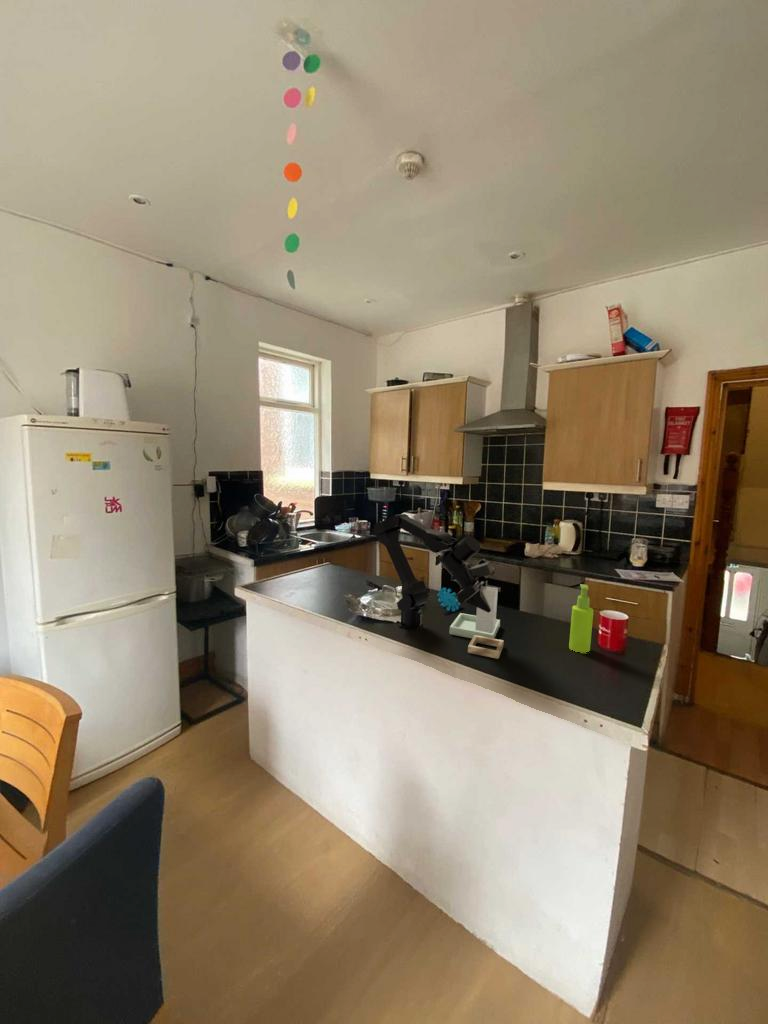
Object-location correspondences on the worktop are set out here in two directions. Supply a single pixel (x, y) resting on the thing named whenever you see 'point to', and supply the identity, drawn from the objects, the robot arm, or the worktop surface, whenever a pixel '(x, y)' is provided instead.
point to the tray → (470, 627)
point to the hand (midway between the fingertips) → (491, 608)
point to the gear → (448, 599)
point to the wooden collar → (485, 651)
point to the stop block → (483, 618)
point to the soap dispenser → (581, 623)
